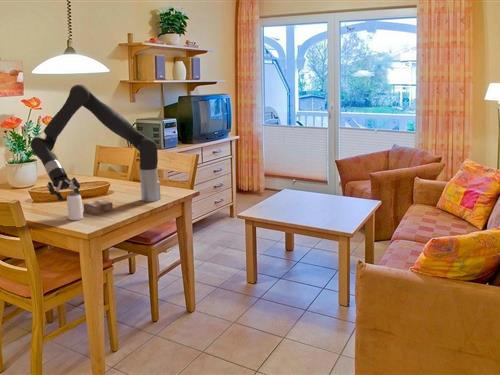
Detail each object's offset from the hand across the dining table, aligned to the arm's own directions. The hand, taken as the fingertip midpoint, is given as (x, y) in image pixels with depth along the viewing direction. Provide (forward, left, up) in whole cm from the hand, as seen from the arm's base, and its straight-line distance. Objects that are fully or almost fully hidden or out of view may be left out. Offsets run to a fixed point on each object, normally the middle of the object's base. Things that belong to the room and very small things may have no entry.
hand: (70, 198), depth 228 cm
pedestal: (-14, 0, -9) cm, 17 cm away
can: (0, +3, -10) cm, 10 cm away
